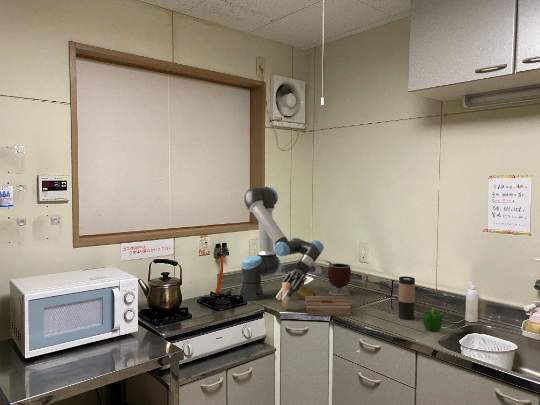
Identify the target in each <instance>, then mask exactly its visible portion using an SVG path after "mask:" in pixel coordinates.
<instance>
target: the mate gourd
mask: <svg viewBox="0 0 540 405" xmlns="http://www.w3.org/2000/svg"><path fill="white" fill-rule="evenodd" d="M325 263H328V264H329V265H328V269H327V278H328V281H329V283H330V285H331V286H333V287H335V288H336V289H331V290H329V291H328V293H329V295H331V296H336V295H337V296H340V295H345V296H348V295H347V294H349V295H350V291H349V290H345V289H343V287H345V286H348V285H349V283H350V282H351V277H352V268H351V264H346V263H332V262H330V261H328V260H325Z"/></svg>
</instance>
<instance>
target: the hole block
mask: <svg viewBox="0 0 540 405" xmlns="http://www.w3.org/2000/svg"><path fill="white" fill-rule="evenodd" d="M304 304H305V309H306V315H307V316H338V315H351V316H352V307H351V305H350V303H349V302H348V299H347V298H346V295H345V296H336V295H331V296H330V295H316V296H305V300H304Z"/></svg>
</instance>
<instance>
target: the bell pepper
mask: <svg viewBox="0 0 540 405" xmlns="http://www.w3.org/2000/svg"><path fill="white" fill-rule="evenodd" d="M435 309H436V307H434V306H433V307H432V308H431V310H427V311H423V312H422V321H423V323H422V324H423V326H424V329H425V330H426V331H429V332H430V331H431V332H439V331H440V329H441V328H442V324H443V315H442V313H439V312H438V311H435Z"/></svg>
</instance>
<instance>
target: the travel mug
mask: <svg viewBox="0 0 540 405" xmlns="http://www.w3.org/2000/svg"><path fill="white" fill-rule="evenodd" d="M415 282H416V278H415V277H413V276H399V277H398V299H397V300H398V318H399V320H403V321H412V320H414V319H415V303H416V302H415V301H416V299H415V298H416V297H415V296H416V294H415V293H416V292H415V291H416V289H415V288H416V286H415V285H416V283H415Z"/></svg>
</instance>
